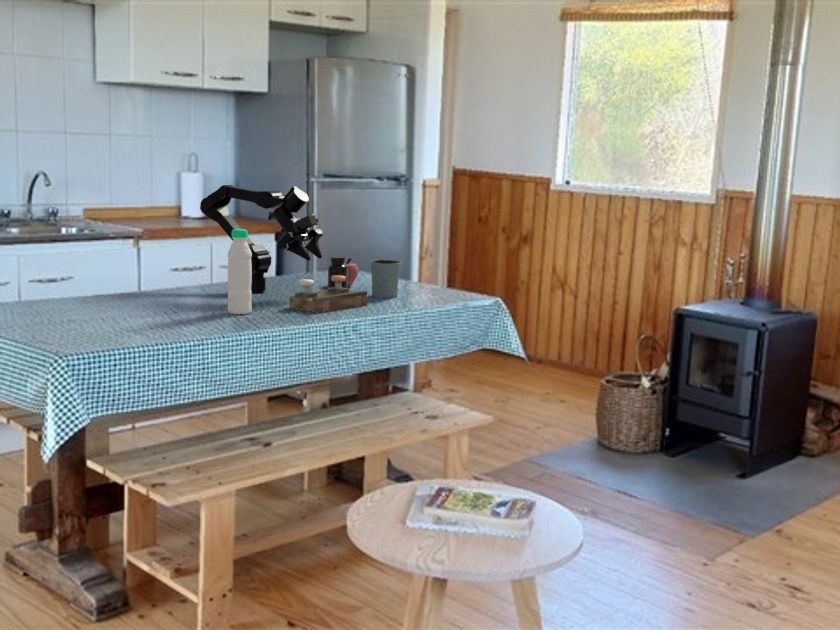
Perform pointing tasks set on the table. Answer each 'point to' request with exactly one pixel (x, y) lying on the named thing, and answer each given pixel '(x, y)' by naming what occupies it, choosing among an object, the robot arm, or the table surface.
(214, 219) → the robot arm
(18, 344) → the table surface
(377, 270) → the grey green plant pot
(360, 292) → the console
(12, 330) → the table surface
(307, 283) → the button cream
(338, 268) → the supplement bottle
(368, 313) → the table surface
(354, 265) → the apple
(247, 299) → the water bottle
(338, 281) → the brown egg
